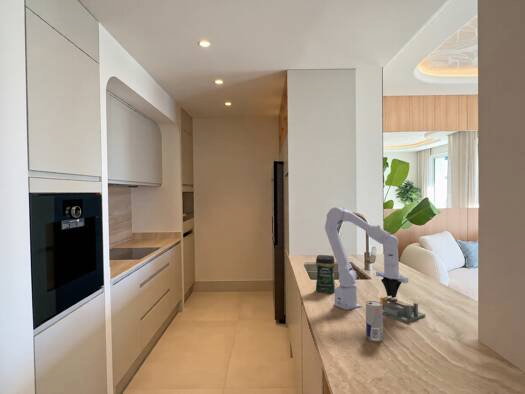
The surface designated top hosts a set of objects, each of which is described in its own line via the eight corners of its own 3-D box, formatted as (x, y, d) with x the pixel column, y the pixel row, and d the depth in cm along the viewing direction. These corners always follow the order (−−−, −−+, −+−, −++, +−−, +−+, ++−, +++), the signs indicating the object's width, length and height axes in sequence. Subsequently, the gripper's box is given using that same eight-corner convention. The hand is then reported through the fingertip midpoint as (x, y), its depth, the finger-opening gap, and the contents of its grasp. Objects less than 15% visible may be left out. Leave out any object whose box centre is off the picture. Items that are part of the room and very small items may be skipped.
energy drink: (369, 334, 111) (369, 299, 111) (385, 338, 108) (384, 302, 108) (363, 339, 107) (363, 303, 107) (379, 343, 104) (379, 307, 104)
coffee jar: (314, 292, 161) (314, 256, 161) (317, 288, 169) (317, 253, 169) (334, 294, 158) (333, 257, 158) (336, 290, 165) (335, 254, 165)
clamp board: (406, 322, 121) (406, 308, 121) (372, 310, 135) (372, 297, 135) (425, 316, 127) (425, 302, 127) (391, 305, 141) (391, 292, 141)
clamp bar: (415, 308, 125) (415, 304, 125) (411, 309, 124) (411, 305, 124) (388, 299, 137) (388, 296, 137) (383, 300, 135) (383, 297, 135)
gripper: (412, 266, 129) (413, 299, 129) (383, 260, 142) (383, 290, 142) (401, 268, 126) (402, 302, 125) (372, 262, 138) (372, 293, 138)
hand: (391, 296), depth 133 cm, fingers closed
